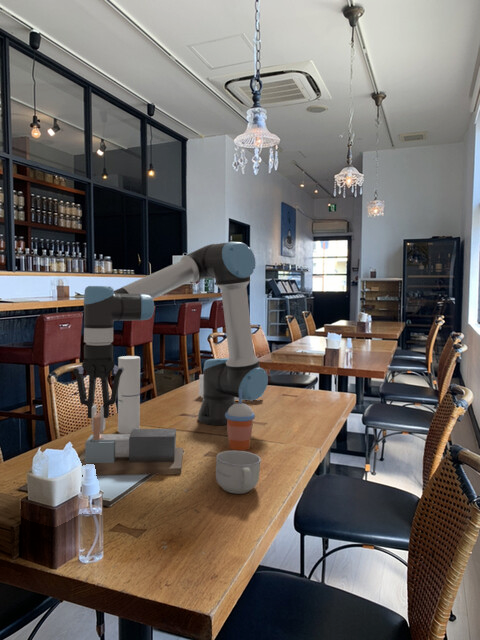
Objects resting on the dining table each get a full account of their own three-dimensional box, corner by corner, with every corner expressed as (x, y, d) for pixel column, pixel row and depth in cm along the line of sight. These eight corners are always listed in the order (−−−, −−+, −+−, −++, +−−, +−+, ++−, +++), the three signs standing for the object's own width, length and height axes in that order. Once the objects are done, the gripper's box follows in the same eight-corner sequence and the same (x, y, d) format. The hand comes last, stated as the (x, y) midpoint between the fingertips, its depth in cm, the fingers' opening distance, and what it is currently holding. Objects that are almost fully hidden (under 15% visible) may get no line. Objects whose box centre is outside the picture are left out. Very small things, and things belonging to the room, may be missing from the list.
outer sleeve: (175, 453, 130) (175, 428, 130) (174, 462, 124) (174, 436, 123) (132, 453, 129) (132, 429, 129) (128, 462, 122) (129, 436, 122)
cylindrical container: (134, 434, 151) (134, 359, 150) (114, 432, 153) (114, 358, 151) (142, 428, 158) (143, 356, 157) (123, 426, 160) (124, 355, 158)
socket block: (118, 453, 129) (118, 434, 129) (113, 462, 122) (113, 442, 122) (91, 453, 128) (91, 434, 128) (85, 463, 121) (85, 442, 121)
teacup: (214, 479, 116) (215, 448, 116) (257, 479, 117) (258, 448, 117) (216, 505, 102) (217, 470, 102) (264, 504, 103) (265, 469, 103)
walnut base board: (183, 452, 135) (183, 447, 135) (181, 473, 119) (181, 468, 119) (85, 453, 133) (85, 448, 133) (70, 475, 117) (70, 469, 117)
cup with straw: (232, 454, 135) (233, 393, 134) (219, 445, 143) (220, 387, 142) (259, 450, 139) (260, 391, 138) (245, 441, 147) (246, 385, 146)
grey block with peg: (144, 450, 129) (144, 412, 128) (141, 457, 124) (142, 417, 123) (96, 451, 127) (96, 412, 127) (92, 457, 122) (92, 417, 122)
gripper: (128, 342, 128) (128, 425, 129) (74, 341, 126) (74, 425, 128) (124, 345, 120) (123, 433, 122) (66, 344, 119) (66, 434, 120)
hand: (98, 429), depth 125 cm, fingers closed on grey block with peg, 2 cm apart
